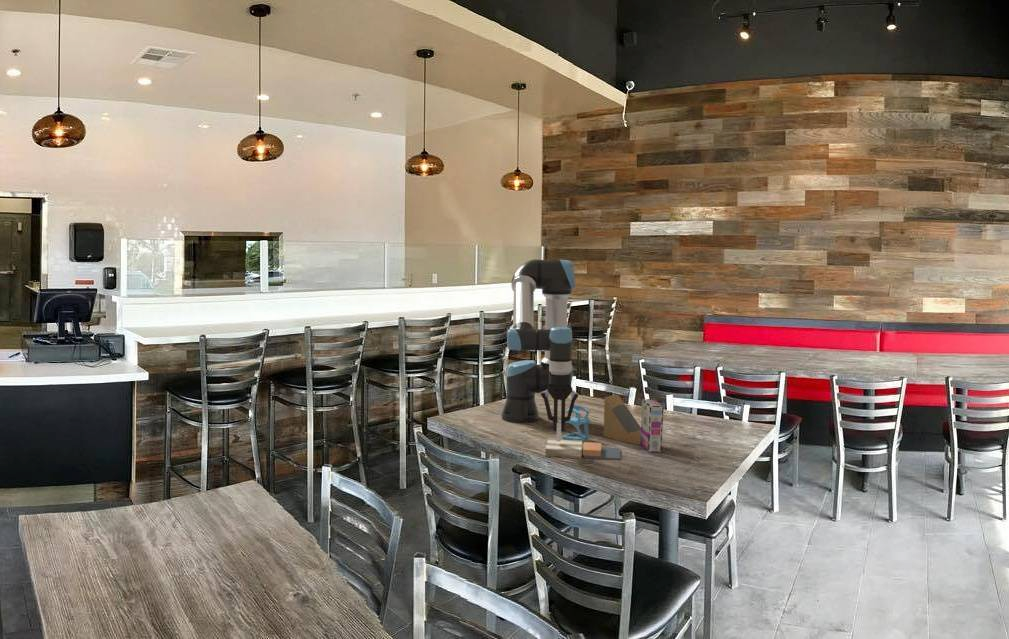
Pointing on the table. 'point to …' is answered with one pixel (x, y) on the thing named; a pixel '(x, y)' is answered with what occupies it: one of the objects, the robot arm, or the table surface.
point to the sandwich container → (620, 421)
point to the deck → (564, 448)
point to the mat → (608, 453)
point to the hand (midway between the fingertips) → (558, 440)
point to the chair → (576, 422)
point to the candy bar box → (651, 425)
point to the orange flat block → (591, 449)
